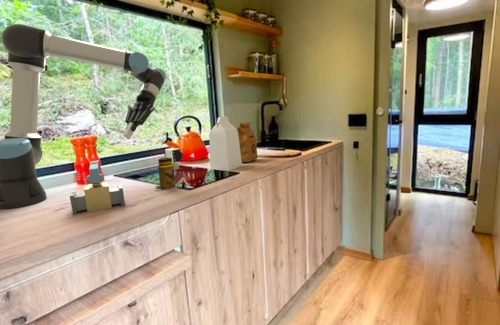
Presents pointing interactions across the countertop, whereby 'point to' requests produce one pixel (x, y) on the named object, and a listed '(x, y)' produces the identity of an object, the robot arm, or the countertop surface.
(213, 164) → the milk
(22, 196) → the robot arm
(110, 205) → the ball valve
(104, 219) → the countertop surface
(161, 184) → the condiment
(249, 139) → the coffee package
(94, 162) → the lever
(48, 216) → the countertop surface
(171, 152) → the pneumatic valve
